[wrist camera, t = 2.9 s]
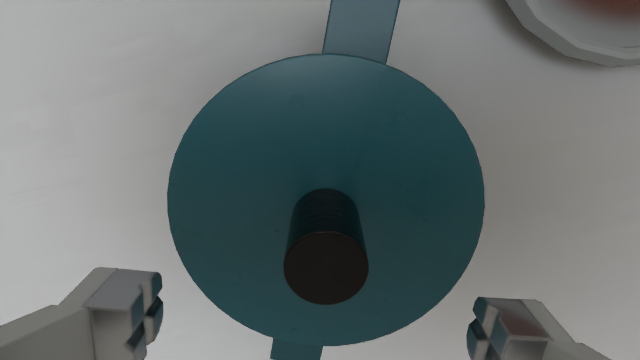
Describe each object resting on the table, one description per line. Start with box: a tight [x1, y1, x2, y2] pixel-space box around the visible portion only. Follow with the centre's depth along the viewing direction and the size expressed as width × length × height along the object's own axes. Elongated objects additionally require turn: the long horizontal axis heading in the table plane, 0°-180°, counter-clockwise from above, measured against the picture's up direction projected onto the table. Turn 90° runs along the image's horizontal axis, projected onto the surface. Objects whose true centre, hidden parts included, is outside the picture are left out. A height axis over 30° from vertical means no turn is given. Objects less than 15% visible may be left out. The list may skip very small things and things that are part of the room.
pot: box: [270, 0, 400, 360], centre depth 20 cm, size 11×17×8 cm
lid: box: [167, 53, 485, 346], centre depth 14 cm, size 12×12×5 cm
